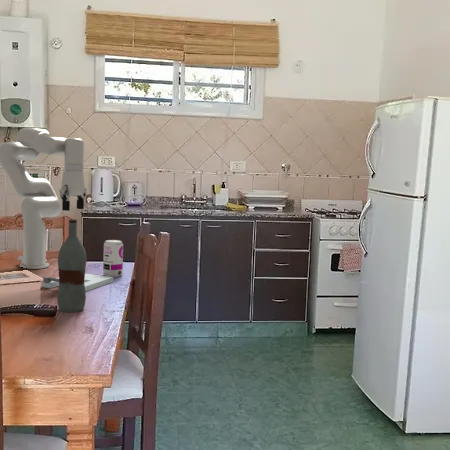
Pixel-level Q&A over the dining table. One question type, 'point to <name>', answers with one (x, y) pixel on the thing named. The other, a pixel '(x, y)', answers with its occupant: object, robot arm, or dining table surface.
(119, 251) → the supplement can
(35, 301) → the dining table surface
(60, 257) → the bottle
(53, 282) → the shelf board
